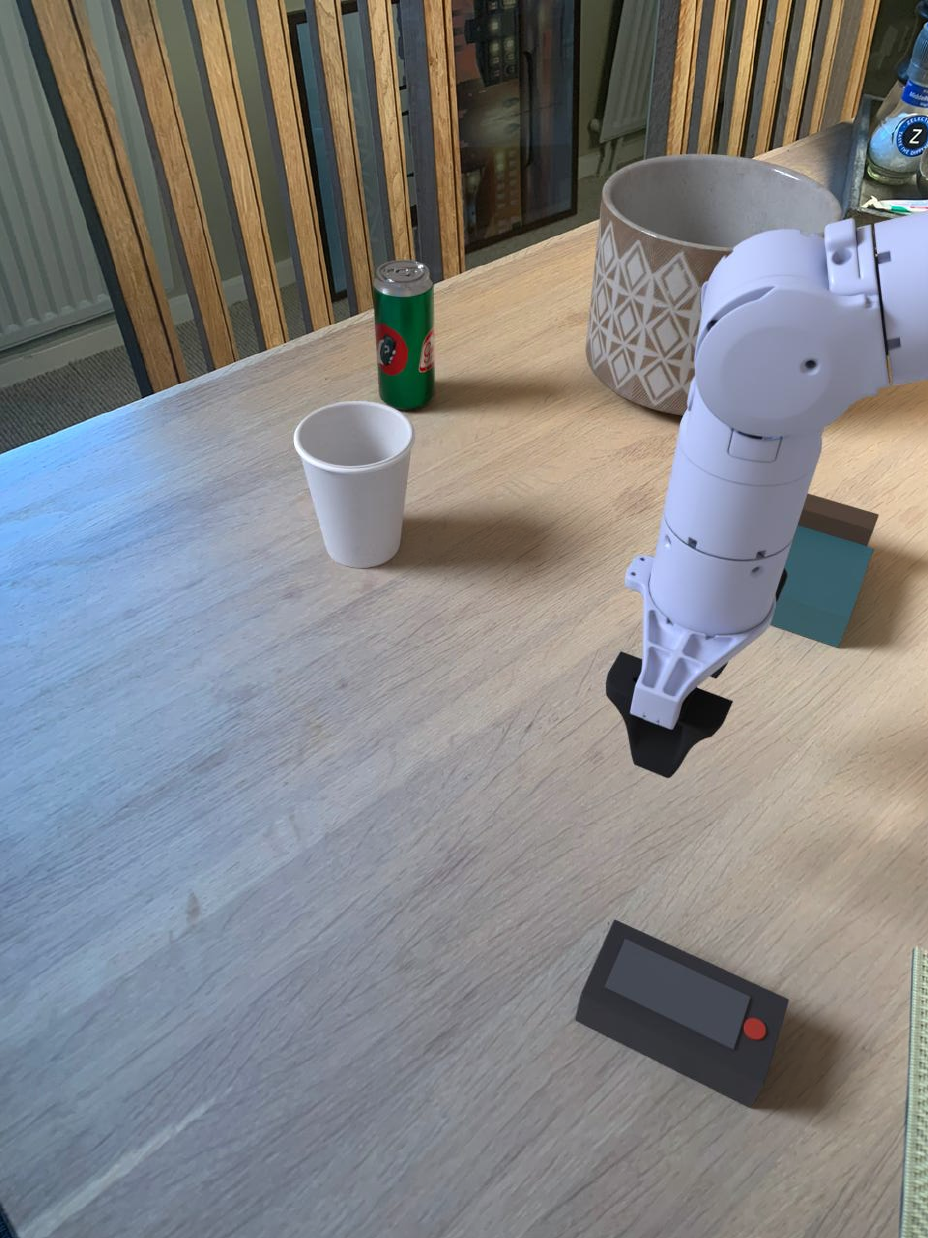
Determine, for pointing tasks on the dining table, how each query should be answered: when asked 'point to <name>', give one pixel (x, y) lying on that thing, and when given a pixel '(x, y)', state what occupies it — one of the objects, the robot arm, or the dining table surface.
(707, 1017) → the remote
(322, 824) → the dining table surface
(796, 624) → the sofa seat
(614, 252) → the planter
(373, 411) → the dixie cup
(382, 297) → the soda can
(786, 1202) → the dining table surface
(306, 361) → the dining table surface
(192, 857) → the dining table surface
